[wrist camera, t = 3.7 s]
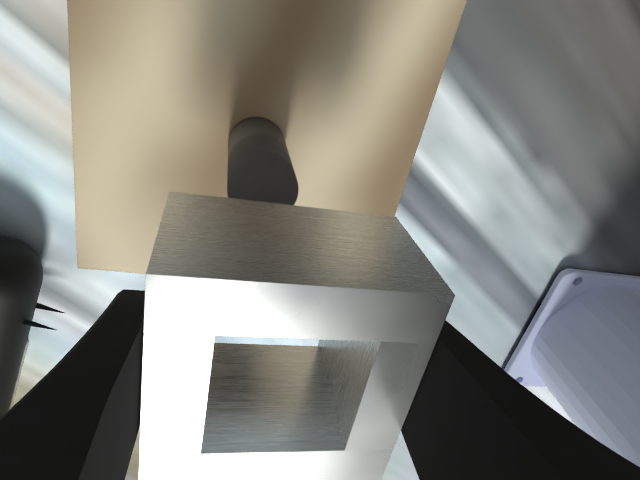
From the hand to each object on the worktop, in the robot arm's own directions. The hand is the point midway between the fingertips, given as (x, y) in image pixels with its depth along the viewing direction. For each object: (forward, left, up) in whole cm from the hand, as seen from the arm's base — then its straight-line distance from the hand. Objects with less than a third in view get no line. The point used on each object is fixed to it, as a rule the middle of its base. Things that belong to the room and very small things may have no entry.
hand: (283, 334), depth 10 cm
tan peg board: (0, -2, -9) cm, 9 cm away
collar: (0, +1, -2) cm, 2 cm away
